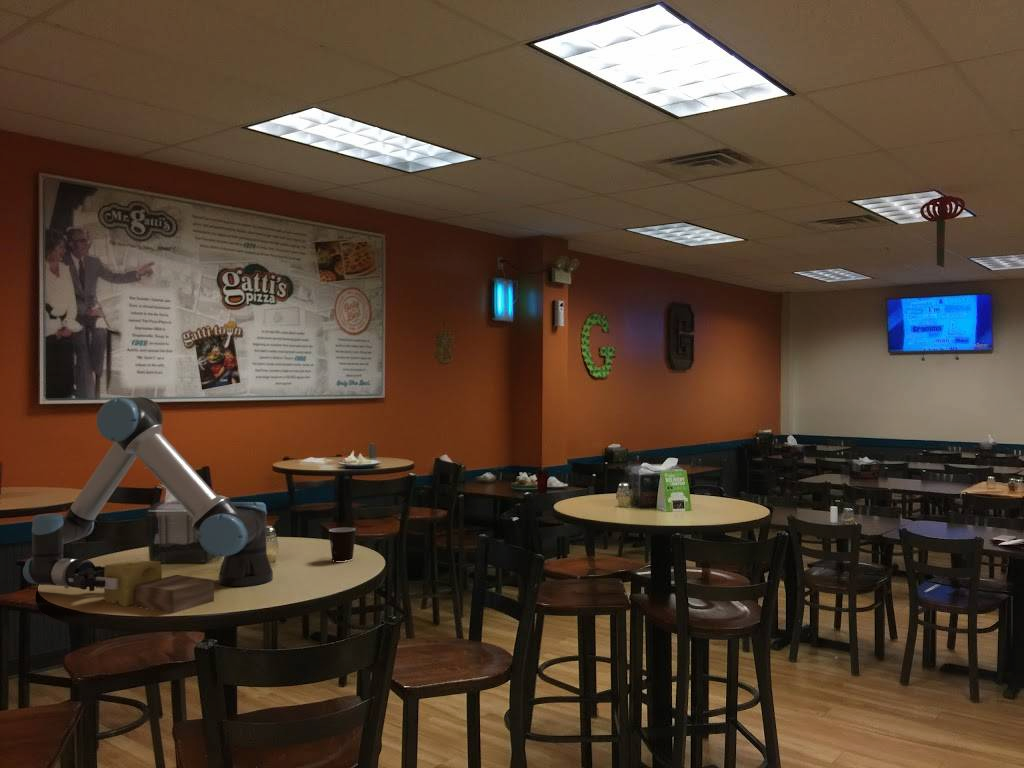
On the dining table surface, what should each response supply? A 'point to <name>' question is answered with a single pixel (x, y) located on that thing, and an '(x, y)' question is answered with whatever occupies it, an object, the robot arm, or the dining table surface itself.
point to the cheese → (130, 579)
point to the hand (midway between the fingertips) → (136, 578)
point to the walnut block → (174, 593)
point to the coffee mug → (342, 543)
